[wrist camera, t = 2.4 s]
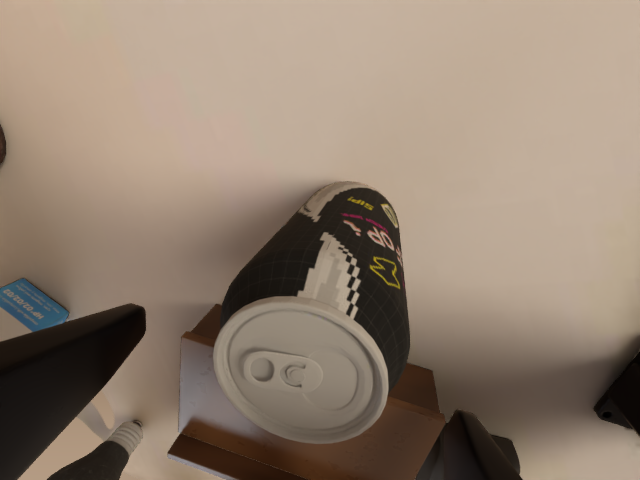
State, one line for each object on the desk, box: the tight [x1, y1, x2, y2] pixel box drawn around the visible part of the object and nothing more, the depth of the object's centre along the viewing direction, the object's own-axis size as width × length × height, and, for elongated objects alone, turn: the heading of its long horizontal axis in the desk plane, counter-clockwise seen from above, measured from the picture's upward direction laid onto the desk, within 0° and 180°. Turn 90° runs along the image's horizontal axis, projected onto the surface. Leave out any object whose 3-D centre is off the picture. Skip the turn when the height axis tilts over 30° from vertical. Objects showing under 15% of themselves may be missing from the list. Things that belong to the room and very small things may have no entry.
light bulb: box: [47, 421, 143, 480], centre depth 26 cm, size 6×6×10 cm
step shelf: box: [168, 304, 446, 480], centre depth 21 cm, size 16×10×6 cm, turn 78°
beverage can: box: [213, 181, 410, 444], centre depth 13 cm, size 6×6×12 cm
